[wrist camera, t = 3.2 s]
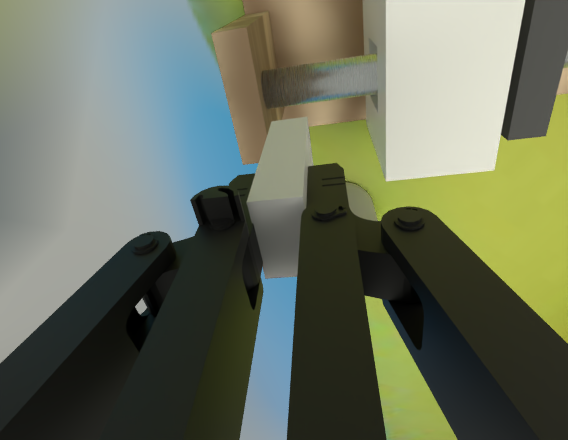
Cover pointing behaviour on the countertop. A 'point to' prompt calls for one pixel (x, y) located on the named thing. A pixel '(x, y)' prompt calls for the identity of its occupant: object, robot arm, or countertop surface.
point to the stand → (289, 62)
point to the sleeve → (439, 83)
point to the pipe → (322, 81)
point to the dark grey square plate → (536, 69)
